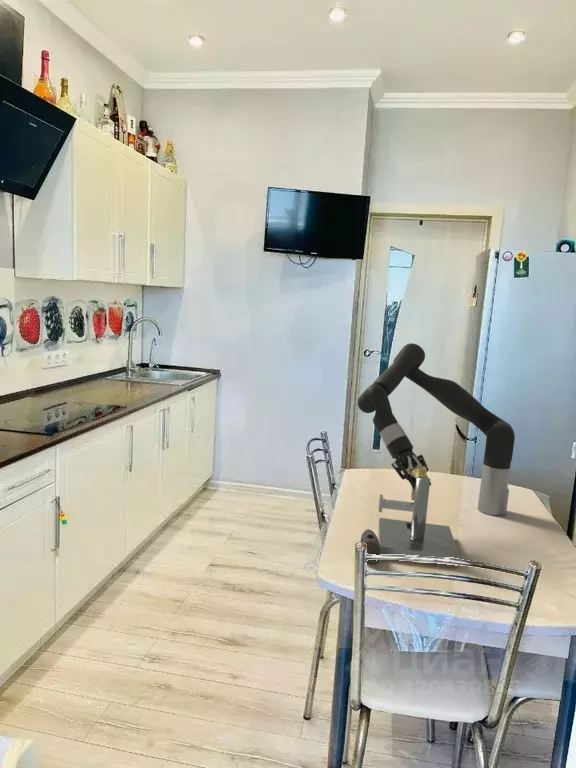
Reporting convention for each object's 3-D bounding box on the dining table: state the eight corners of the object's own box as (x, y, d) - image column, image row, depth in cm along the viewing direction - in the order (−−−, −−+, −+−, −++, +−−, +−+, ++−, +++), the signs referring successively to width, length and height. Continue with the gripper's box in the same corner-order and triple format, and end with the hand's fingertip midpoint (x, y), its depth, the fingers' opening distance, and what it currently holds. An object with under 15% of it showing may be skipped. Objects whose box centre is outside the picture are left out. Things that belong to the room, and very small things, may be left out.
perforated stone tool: (358, 543, 166) (360, 521, 165) (375, 545, 165) (377, 523, 164) (360, 566, 151) (362, 542, 150) (379, 568, 150) (382, 544, 150)
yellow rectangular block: (422, 497, 173) (425, 466, 171) (423, 501, 169) (426, 470, 168) (410, 496, 173) (413, 465, 172) (411, 499, 170) (414, 468, 168)
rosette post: (447, 536, 175) (455, 470, 172) (458, 568, 153) (467, 492, 150) (375, 527, 178) (381, 462, 175) (375, 557, 157) (382, 483, 154)
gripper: (402, 444, 183) (428, 489, 176) (374, 449, 174) (401, 497, 167) (417, 432, 178) (445, 478, 171) (389, 437, 169) (417, 486, 162)
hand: (423, 487), depth 169 cm, fingers closed on yellow rectangular block, 5 cm apart
